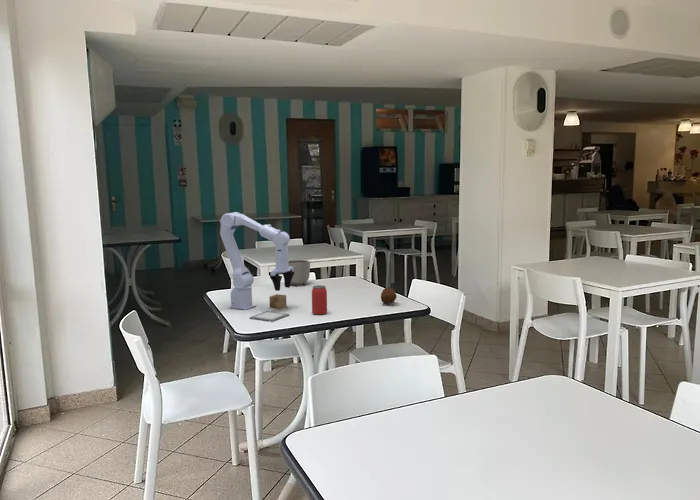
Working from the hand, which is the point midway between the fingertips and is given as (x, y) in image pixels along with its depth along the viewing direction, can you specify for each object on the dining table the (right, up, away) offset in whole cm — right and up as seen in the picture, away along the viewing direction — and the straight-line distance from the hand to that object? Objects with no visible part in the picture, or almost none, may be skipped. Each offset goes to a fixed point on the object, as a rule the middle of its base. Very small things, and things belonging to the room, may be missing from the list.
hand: (282, 288), depth 248 cm
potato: (+48, -8, +10) cm, 50 cm away
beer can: (+17, -11, -6) cm, 21 cm away
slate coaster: (-4, -11, -12) cm, 17 cm away
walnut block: (-3, -9, +5) cm, 11 cm away
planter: (+2, -2, +57) cm, 57 cm away
